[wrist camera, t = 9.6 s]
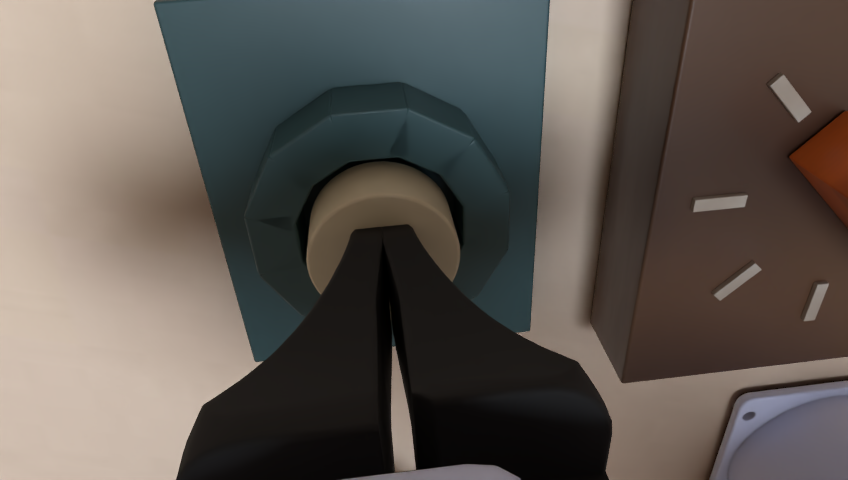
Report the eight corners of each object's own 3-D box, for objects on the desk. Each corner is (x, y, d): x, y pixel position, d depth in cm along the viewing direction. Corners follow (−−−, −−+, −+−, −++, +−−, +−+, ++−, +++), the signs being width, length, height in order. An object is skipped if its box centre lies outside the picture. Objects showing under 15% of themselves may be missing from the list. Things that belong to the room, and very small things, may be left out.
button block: (521, 308, 21) (545, 371, 18) (259, 337, 20) (247, 406, 18) (538, -37, 15) (577, -14, 12) (165, -9, 14) (126, 21, 12)
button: (452, 272, 17) (462, 313, 15) (321, 286, 16) (318, 329, 15) (448, 153, 15) (459, 186, 13) (299, 166, 14) (294, 202, 13)
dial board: (880, 289, 22) (952, 349, 20) (589, 322, 22) (623, 388, 19) (1069, -120, 15) (1221, -113, 12) (643, -90, 14) (709, -76, 12)
